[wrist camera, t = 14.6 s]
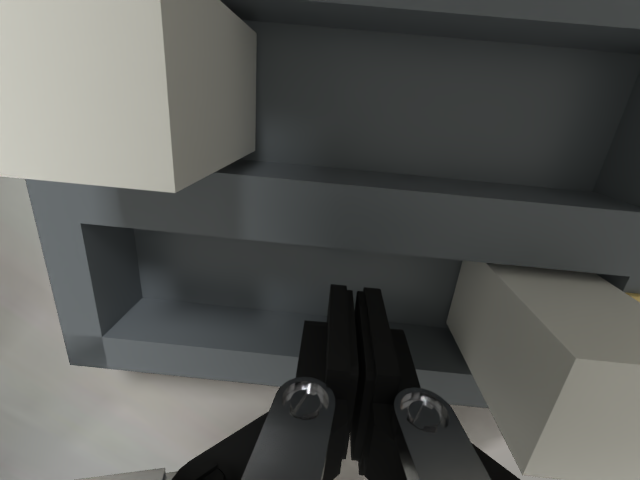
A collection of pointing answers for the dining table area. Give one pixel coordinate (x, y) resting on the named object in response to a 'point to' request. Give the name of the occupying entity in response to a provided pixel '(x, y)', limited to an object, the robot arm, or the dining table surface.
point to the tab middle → (124, 91)
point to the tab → (554, 366)
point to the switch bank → (366, 187)
